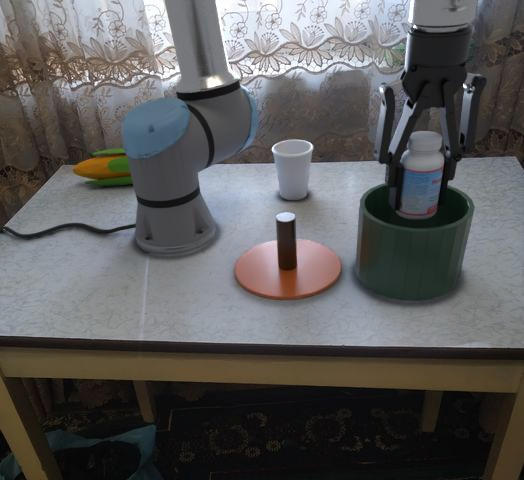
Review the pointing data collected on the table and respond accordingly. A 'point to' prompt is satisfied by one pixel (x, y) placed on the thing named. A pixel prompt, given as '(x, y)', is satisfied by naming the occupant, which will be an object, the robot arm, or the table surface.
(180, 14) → the robot arm
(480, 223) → the table surface
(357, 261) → the tin
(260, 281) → the tin lid
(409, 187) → the pill bottle
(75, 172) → the corn
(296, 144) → the dixie cup
